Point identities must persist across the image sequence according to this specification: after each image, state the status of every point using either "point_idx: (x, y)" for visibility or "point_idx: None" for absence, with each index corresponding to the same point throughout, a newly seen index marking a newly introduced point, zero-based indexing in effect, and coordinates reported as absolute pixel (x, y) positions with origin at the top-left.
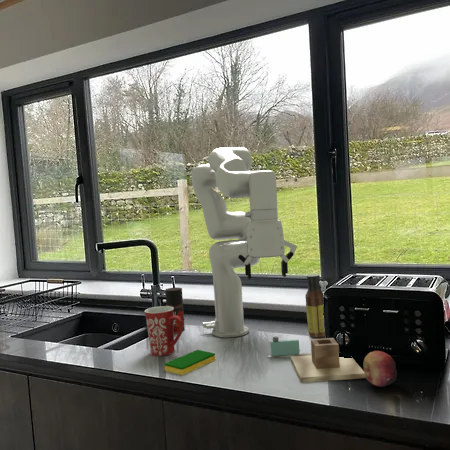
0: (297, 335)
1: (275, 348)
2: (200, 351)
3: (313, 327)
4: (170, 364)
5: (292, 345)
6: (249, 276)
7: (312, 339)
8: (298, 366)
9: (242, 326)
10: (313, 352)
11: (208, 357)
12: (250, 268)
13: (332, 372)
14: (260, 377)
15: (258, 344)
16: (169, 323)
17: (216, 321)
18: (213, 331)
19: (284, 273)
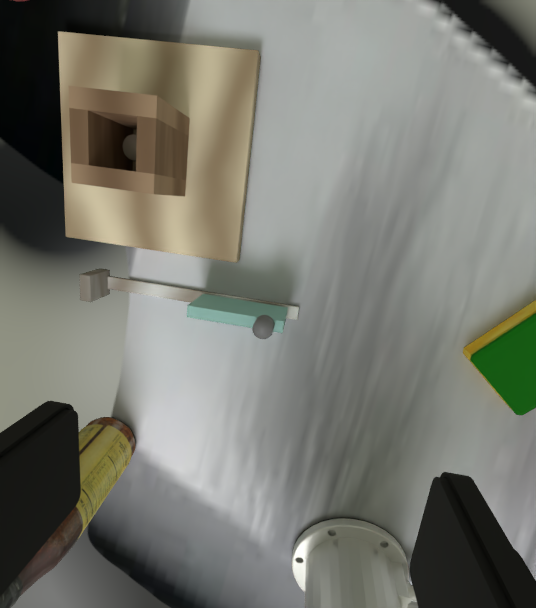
0: (167, 462)
1: (271, 311)
2: (516, 392)
3: (110, 442)
4: None
5: (214, 304)
6: (469, 490)
7: (148, 188)
8: (237, 160)
9: (314, 559)
10: (171, 151)
11: (502, 334)
12: (500, 601)
13: (150, 69)
14: (369, 142)
15: (294, 433)
16: None
17: (401, 605)
18: (405, 574)
19: (39, 420)
